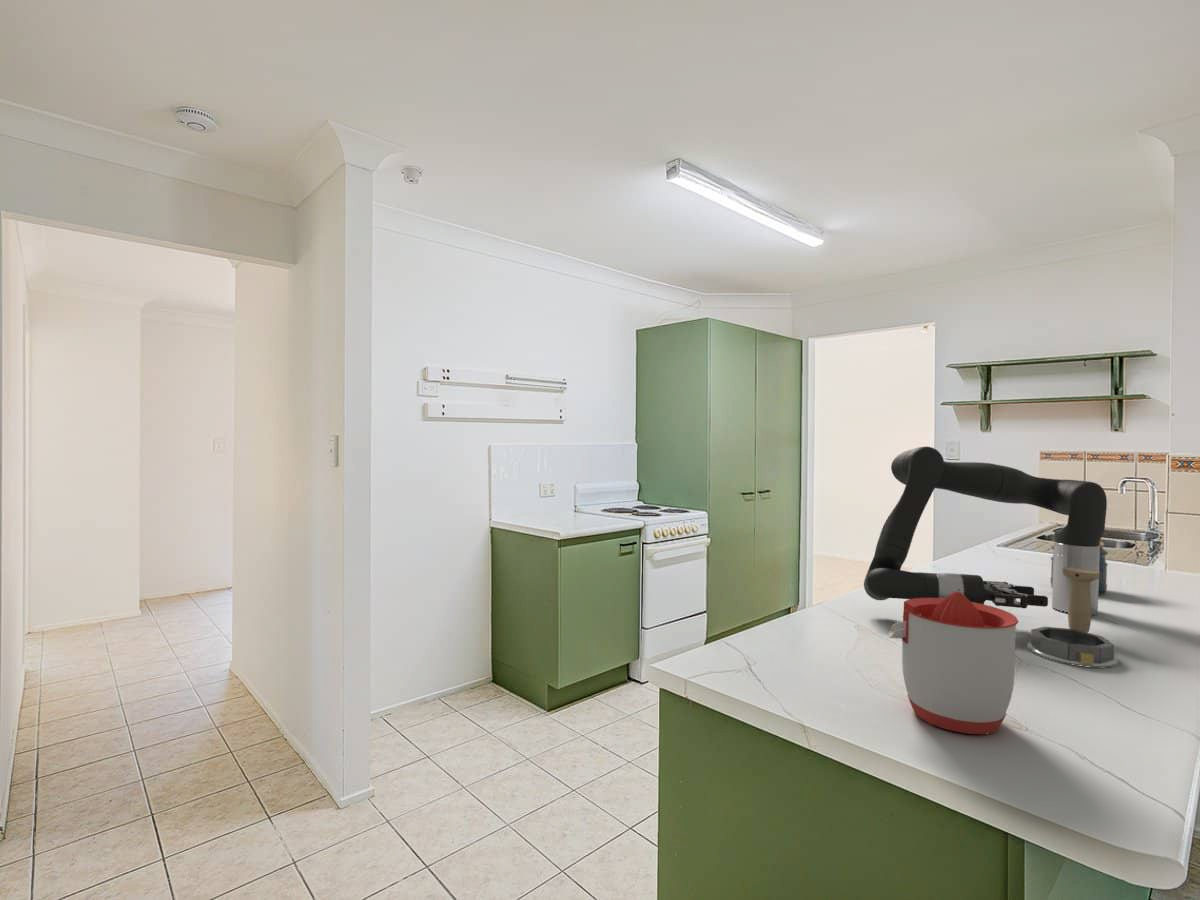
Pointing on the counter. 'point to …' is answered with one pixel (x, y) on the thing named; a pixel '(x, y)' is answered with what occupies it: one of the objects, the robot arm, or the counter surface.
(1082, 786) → the counter surface
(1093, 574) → the handle
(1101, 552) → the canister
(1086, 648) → the grey shallow octagonal dish
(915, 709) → the citrus juicer
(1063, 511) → the robot arm
